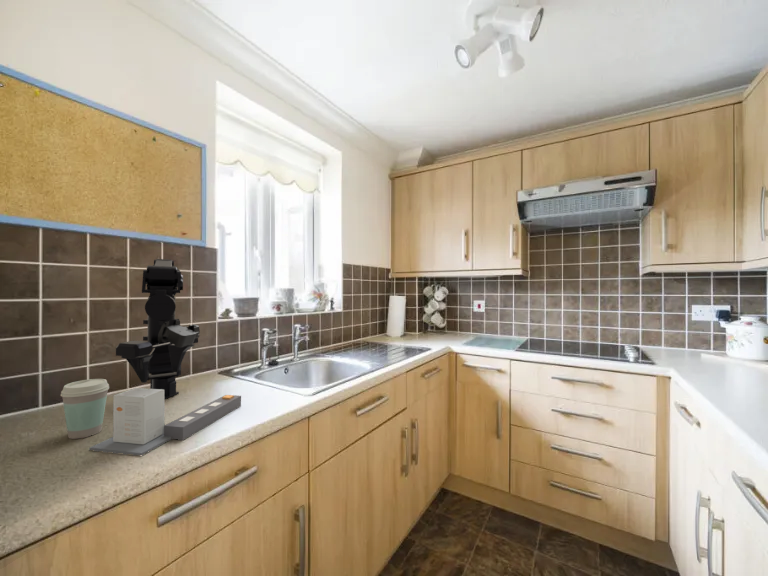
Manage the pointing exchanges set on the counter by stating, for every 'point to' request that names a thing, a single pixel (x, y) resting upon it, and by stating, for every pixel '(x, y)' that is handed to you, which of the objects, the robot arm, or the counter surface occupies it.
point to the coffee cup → (84, 407)
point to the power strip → (201, 417)
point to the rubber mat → (129, 446)
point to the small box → (138, 415)
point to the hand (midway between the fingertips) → (160, 376)
